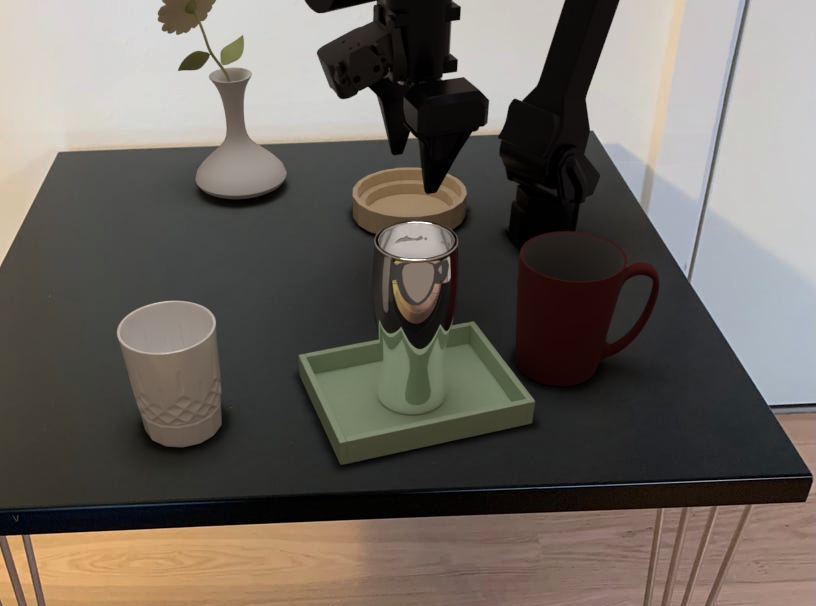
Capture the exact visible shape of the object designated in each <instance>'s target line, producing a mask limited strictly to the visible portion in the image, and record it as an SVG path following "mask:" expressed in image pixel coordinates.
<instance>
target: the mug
mask: <svg viewBox="0 0 816 606" xmlns="http://www.w3.org/2000/svg"><path fill="white" fill-rule="evenodd" d="M518 258H519V259H518V260H519V261H518V269H517V284H516V312H515V315H516V318H515V352H514V353H515V358H514V359H515V365H516V367H517V369H518V370H519V372H520V373H521V374H522V375H524V376H525V377H527V378H528V379H530V380H532V381H534V382H536V383H540V384H542V385H543V384H544V385H547V386H554V387H569V386H575V385H579V384H582V383H584V382H586V381H588V380H590V379H591V378H592V377H593V376H594V374H595V373H596V371H597V369H598V365H599V362H600V361H602V360H605V359H607V358H610V357H612V356H615V355H617V354H619V353H620V352H622V351H623V350H625V349H626V348H627V347H628V346H629V345H630V344H632V343H633V342H634V340H636V338H638V336H639V335H640V334H641V332H642V331H643V329H644V327H645V326H646V325H647V323H648V321H649V319H650V317H651V315H652V313H653V311H654V308H655V306H656V303H657V300H658V296H659V291H660V276H659V273H658V271H657V269H656V268H655V266H654V265H653V264H651V263H649V262H645V261H641V262H634V263H632V264H630V265H628V266H627V263H628V258H627V255H626V253H625V251H624V250H623V249H622V248H621V246H619V245H618V244H617V243H615V242H613V241H611V240H609V239H608V238H605V237H602V236H600V235H597V234H592V233H588V232H582V231H576V232H572V231H560V232H551V233H545V234H542V235H538V236H536V237H534V238H532V239H530V240H528V241H527V242H526V243H525V244H524V245H523V246H522V248H520V250H519V257H518ZM637 276H646V277H647V278H650V279H651V280H652V286H651V291H650V294H649V296H648V299H647V302H646V305H645V306H644V308H643V311H642V313H641V314H640V316H639V318H638V319H637V321H636V322H635V323H634V325H633V326H632V327H631V328H630V329H629V330H628V331H627V332H626V333H625V334H624V335H623V336H621V337H620V338H619V339H617V340H616V341H614V342H611V343H608V342H607V336H608V332H609V329H610V326H611V323H612V320H613V316H614V313H615V310H616V307H617V302H618V300H619V296H620V294H621V290H622V288H623V287H624V285H625V284H626V282H627V281H628V280H630V279H631V278H633V277H637Z"/></svg>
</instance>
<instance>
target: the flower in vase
mask: <svg viewBox="0 0 816 606" xmlns="http://www.w3.org/2000/svg"><path fill="white" fill-rule="evenodd" d="M161 2H162V3H163V4H164V5H161V6H160V7H159V9H158V11H157V16H158V17H157V22H158V23H161V24H162V26H161V31H162V32H167V34H169V35H172V34H173V33H175V35H176V36H180V35H183V34H187V33H189V32H190V31H191V29H195V28H197V27H198V26H199V28H200V32H201V34H202V37H203V40H204V43H205V47H206V49H207V51H208V52H207V51H204V50H203V51H202V50H196V51H193V52H191V53H189V54H188V55H187V56H185V58H183V60H182V61H181V63H180V64H179V67H178V69H177V71H178V72H181V71H198V70H200V69H202V68H203V67H204V66H205V64H207V62H208V60H209V59H210V56H211V57H212V59H213V60H214V62H215V63H216V64H217V66H218V67H219V69H216V70H214V71H212V72H210V74H209V75H208V79H209V81H211V82H212V84H213V85H214V86H215V87H216V90H217V92H218V93H219V96H220V99H221V102H222V106H223V112H224V117H225V125H226V127H225V128H226V132H225V137H224V140H223V141H222V143H221V144H220V145H219V146H218V147H217V148H216V149H214V150H213V151H212V152H211V153H210V154H209V155H208V156H207V157H206V158H205V159H204V160H203V162H202V163H201V164H200V165H199V167H198V168H197V170H196V173H195V174H196V175H195V183H196V185H197V186H198V187H199V188H200V189H201V190H202V191H203V192H204V193H205V194H207V195H209V196H212V197H215V198H219V199H227V200H246V199H252V198H258V197H261V196H264V195H267V194H270V193H271V192H274V191H275V190H278V188H280V187H281V186H282V184H283V183H284V181H285V179H286V177H287V174H288V173H287V169H286V168H285V165H284V163H283V161H282V160H280V159H279V157H277V156H276V155H275V154H274V153H272V152H271V151H269V150H268V149H266V148H265V147H263V146H262V145H259V143H256V142H255V141H254V140H253V139H252V138H251V137H250V136H249V134H248V131H247V127H246V121H245V94H246V89H247V86H248V83H249V81H250V80H251V78H252V76H253V72H252V71H251V70H250V69H247V68H243V67H224V66H228V65H230V64H233V63H234V62H237V61H239V59H241V58H242V56H243V53H244V48H245V38H244V37H245V36H244V35H243V34H242V35H241V36H239V37H238V38H236V39H235V40H234V41H232V42H230V43H229V44H227V45H225V46H224V47H223V48H222V49H221V50H220V56H219V57H220V58H219V59H220V61H219V59H218V58H217V57H216V56H215V54H214V52H213V51H212V48H211V46H210V44H209V41H208V37H207V34H206V32H205V28H204V26H203V24H202V22H204V21H206V20H207V18H208V15H209V14H208V13H211V11H212V9H213V5H215V3H216V2H217V0H161Z"/></svg>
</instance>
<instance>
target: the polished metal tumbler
mask: <svg viewBox="0 0 816 606" xmlns="http://www.w3.org/2000/svg"><path fill="white" fill-rule="evenodd" d="M373 239H374V241H373V243H374V246H373V258H372V269H371V270H372V272H371V301H372V302H371V303H372V310H373V317H374V322H375V327H376V332H377V336H378V340H379V342H380V348H381V353H382V369H381V375H380V379H379V384H378V389H377V395H378V398H379V401H380V402H381V403H382V404H383V405H384V406H385V407H386V408H388V409H390V410H392V411H394V412H397V413H401V414H407V415H417V414H424V413H427V412H430V411H433V410H434V409H436V408H438V407H439V406H440V405H441V404H442V403H443V401H444V400H445V397H446V387H445V381H444V375H443V359H444V353H445V349H446V344H447V341H448V337H449V334H450V330H451V326H452V325H453V322H454V318H455V313H456V308H457V303H458V302H457V301H458V292H459V275H460V274H459V272H460V271H459V270H460V269H459V237H458V235H457V234H456V233H455V232H454V231H453V230H451V229H449V228H448V227H446V226H443V225H441V224H437V223H433V222H428V221H405V222H399V223H395V224H392V225H389V226H387V227H385V228H383V229H382V230H380V231H379V232H378V233H377V234H375V236H374V238H373Z"/></svg>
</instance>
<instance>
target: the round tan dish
mask: <svg viewBox="0 0 816 606" xmlns="http://www.w3.org/2000/svg"><path fill="white" fill-rule="evenodd" d="M467 198H468V192H467V187H466V185H465V184H464V183H463V182H462V181H461V180H460V179H459V178H458V177H455V176H453V175H451V174H449V173H447V175H446V177H445V178H444V180H443V182H442V184H441V186H440V187H439V189H438V191H437V192H436V193H432V194H426V193H425V191H424V185H423V179H422V170H421V167H417V166H416V167H413V166H412V167H394V168H390V169H389V168H388V169H382V170H379V171H376V172H374V173H370V174H367V175H366V176H364V177H363V178H361V179H359V180H358V181H357V182H356V183H355V185H354V186H353V187H352V219H354V221H355V222H356V224H357V225H358V226H359V227H361V228H362V229H364V230H365V231H367V232H368V233H371V234H375V235H377V233H378V232H379V231H380V230H382V229H383V228H385V227H387V226H389V225H392V224H395V223H399V222H405V221H428V222H433V223H437V224H441V225H443V226H446V227H448V228H449V229H451V230H452V231H453V230H454V229H456V228H457V227H458V226H460V225H461V224H462V223H463V221H464V219H465V217H466V215H467V214H466V212H467V201H468V200H467Z"/></svg>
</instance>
